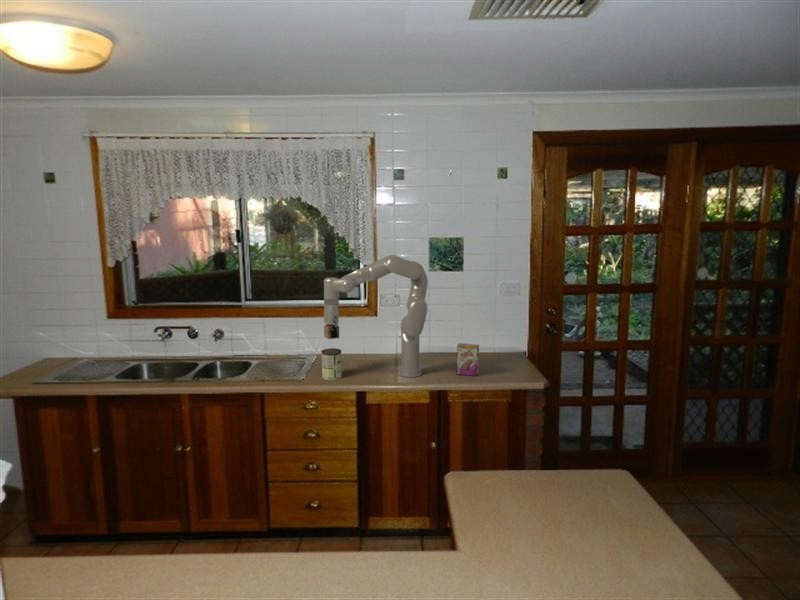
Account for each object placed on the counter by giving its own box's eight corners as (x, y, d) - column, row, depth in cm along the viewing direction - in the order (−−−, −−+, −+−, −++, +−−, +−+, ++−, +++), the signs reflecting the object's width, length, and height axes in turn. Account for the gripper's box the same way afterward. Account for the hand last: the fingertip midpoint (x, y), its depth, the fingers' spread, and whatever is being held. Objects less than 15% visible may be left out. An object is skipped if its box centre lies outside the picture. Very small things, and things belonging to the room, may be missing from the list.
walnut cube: (335, 335, 267) (335, 324, 266) (339, 337, 261) (339, 326, 261) (324, 336, 264) (324, 325, 263) (328, 339, 259) (328, 327, 258)
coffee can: (324, 373, 272) (324, 348, 269) (343, 374, 271) (343, 348, 268) (319, 379, 262) (319, 353, 259) (339, 380, 261) (339, 353, 258)
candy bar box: (456, 374, 271) (456, 344, 268) (457, 372, 275) (458, 342, 273) (477, 376, 268) (478, 346, 265) (478, 374, 272) (479, 344, 270)
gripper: (318, 299, 266) (319, 333, 268) (330, 304, 251) (330, 340, 253) (332, 299, 269) (332, 332, 272) (344, 303, 254) (344, 339, 257)
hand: (331, 336), depth 263 cm, fingers closed on walnut cube, 6 cm apart
